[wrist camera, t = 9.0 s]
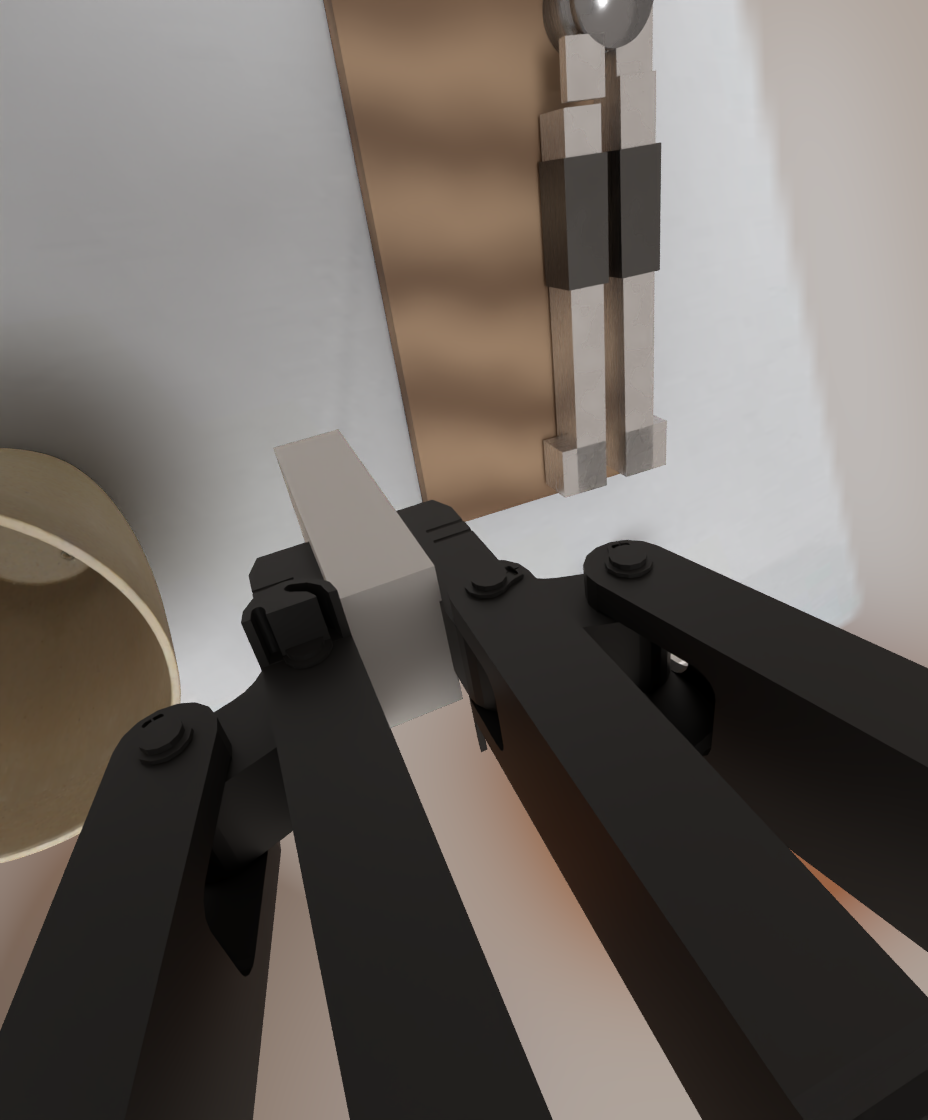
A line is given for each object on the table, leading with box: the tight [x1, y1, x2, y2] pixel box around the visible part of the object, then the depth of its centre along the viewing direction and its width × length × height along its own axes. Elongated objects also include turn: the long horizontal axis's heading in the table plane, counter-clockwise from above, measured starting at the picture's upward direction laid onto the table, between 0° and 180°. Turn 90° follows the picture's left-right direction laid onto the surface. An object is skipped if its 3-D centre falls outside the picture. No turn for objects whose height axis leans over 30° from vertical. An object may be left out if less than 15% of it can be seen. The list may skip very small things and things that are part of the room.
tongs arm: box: [539, 0, 653, 497], centre depth 35 cm, size 26×6×3 cm, turn 8°
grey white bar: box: [542, 0, 667, 477], centre depth 36 cm, size 26×6×3 cm, turn 9°
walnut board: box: [323, 0, 620, 522], centre depth 36 cm, size 28×16×2 cm, turn 9°
